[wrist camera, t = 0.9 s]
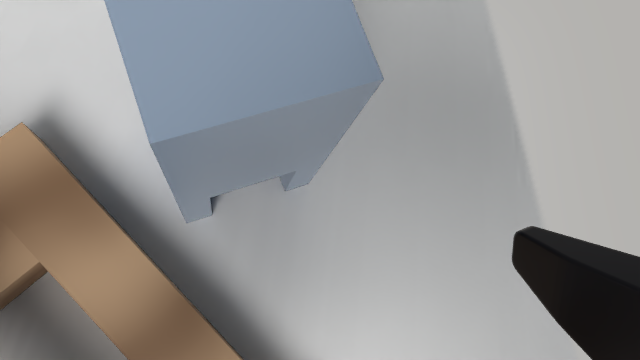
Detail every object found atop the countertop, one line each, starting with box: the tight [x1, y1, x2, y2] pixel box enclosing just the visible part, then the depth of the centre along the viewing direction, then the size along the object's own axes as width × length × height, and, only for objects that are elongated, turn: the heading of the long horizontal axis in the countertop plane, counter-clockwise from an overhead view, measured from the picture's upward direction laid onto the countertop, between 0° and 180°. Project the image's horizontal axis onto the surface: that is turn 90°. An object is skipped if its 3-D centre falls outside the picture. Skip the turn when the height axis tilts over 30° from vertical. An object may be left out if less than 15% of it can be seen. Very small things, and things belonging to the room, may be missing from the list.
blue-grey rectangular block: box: [104, 0, 384, 223], centre depth 18 cm, size 6×5×12 cm
